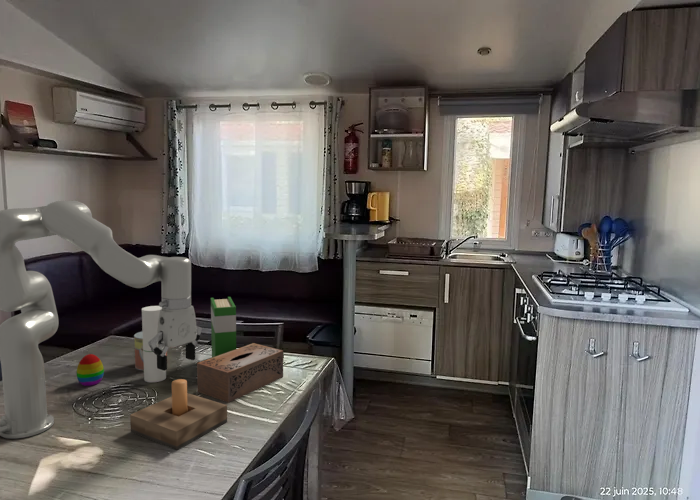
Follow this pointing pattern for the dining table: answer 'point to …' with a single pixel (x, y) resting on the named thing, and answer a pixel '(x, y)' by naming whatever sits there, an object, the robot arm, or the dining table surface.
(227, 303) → the hardback book
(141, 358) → the canned food
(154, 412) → the block
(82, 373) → the decorative egg
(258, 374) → the tissue box cover
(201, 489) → the dining table surface
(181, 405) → the pin
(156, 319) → the cylindrical container
